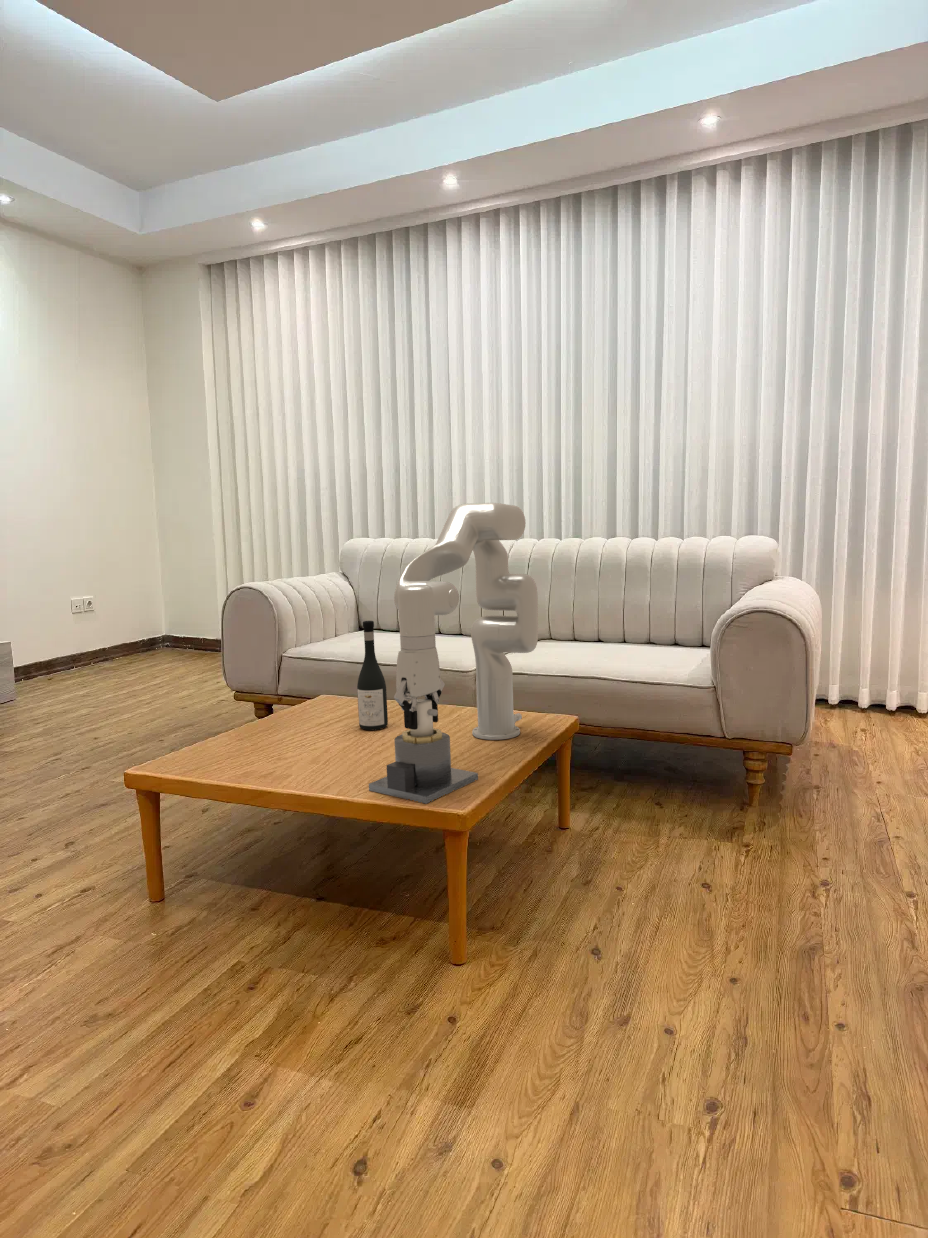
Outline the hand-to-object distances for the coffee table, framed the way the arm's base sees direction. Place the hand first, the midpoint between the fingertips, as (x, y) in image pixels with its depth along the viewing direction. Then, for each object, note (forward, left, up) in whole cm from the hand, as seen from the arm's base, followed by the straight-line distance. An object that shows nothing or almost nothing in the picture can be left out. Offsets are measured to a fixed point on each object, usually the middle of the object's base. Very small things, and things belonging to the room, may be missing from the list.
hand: (421, 724), depth 181 cm
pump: (0, 0, -3) cm, 3 cm away
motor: (0, 0, -14) cm, 14 cm away
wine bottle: (-31, -44, -14) cm, 56 cm away
